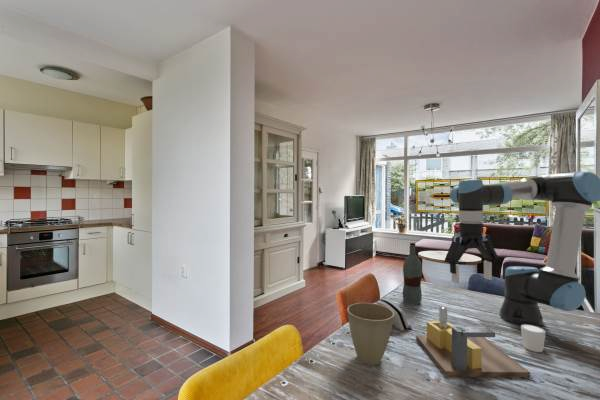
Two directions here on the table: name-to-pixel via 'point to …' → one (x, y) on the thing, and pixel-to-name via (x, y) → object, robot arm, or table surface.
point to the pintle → (442, 317)
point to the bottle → (412, 278)
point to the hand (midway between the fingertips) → (471, 280)
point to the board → (491, 366)
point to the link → (444, 340)
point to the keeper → (465, 343)
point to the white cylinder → (533, 337)
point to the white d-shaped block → (396, 314)
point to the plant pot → (370, 330)
